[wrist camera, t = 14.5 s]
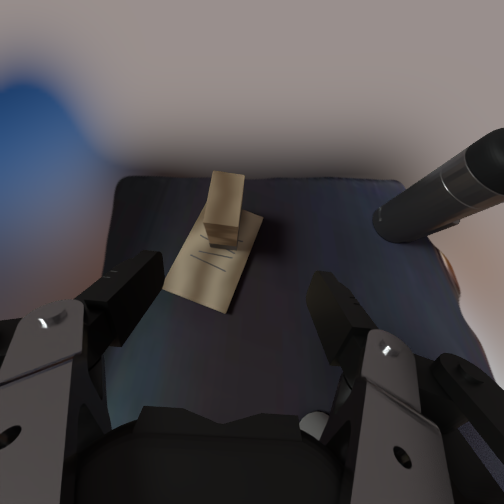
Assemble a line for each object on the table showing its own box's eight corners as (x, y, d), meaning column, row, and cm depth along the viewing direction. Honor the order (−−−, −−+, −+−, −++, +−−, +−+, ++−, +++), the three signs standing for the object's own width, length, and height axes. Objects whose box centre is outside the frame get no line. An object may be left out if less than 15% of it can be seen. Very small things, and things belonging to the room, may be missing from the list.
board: (262, 220, 38) (263, 217, 37) (225, 313, 31) (225, 313, 30) (210, 200, 38) (209, 196, 37) (162, 288, 31) (160, 288, 30)
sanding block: (241, 209, 37) (245, 174, 27) (236, 250, 34) (238, 227, 24) (217, 206, 36) (212, 169, 27) (210, 247, 33) (202, 222, 24)
